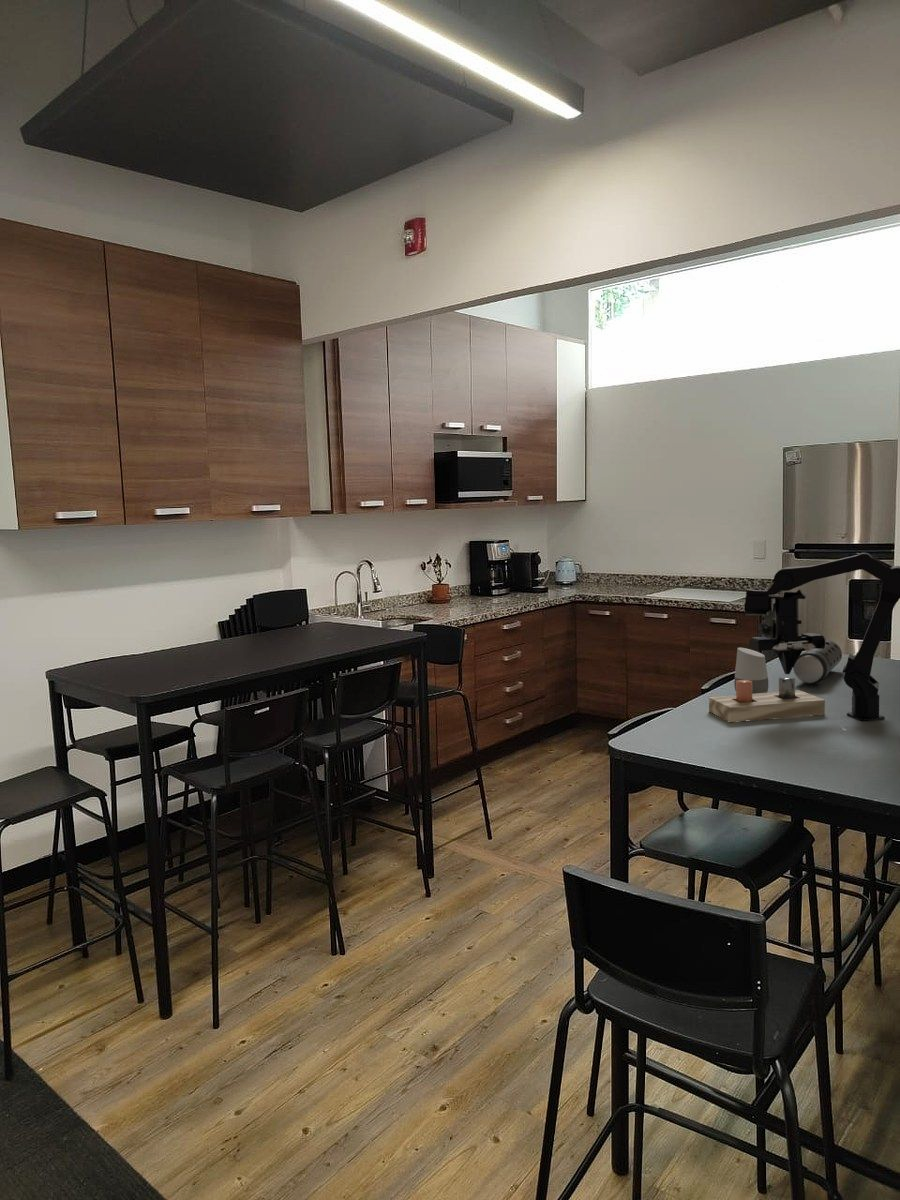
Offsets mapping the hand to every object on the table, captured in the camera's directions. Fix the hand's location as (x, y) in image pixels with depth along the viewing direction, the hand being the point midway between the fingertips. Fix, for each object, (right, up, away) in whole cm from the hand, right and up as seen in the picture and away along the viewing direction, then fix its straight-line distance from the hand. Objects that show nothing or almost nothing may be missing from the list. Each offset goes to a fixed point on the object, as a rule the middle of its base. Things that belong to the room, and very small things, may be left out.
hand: (787, 673), depth 215 cm
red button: (-12, -7, -1) cm, 14 cm away
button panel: (-5, -11, 0) cm, 12 cm away
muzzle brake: (+26, -5, +38) cm, 47 cm away
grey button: (0, -7, +1) cm, 7 cm away
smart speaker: (-2, -8, +20) cm, 22 cm away
